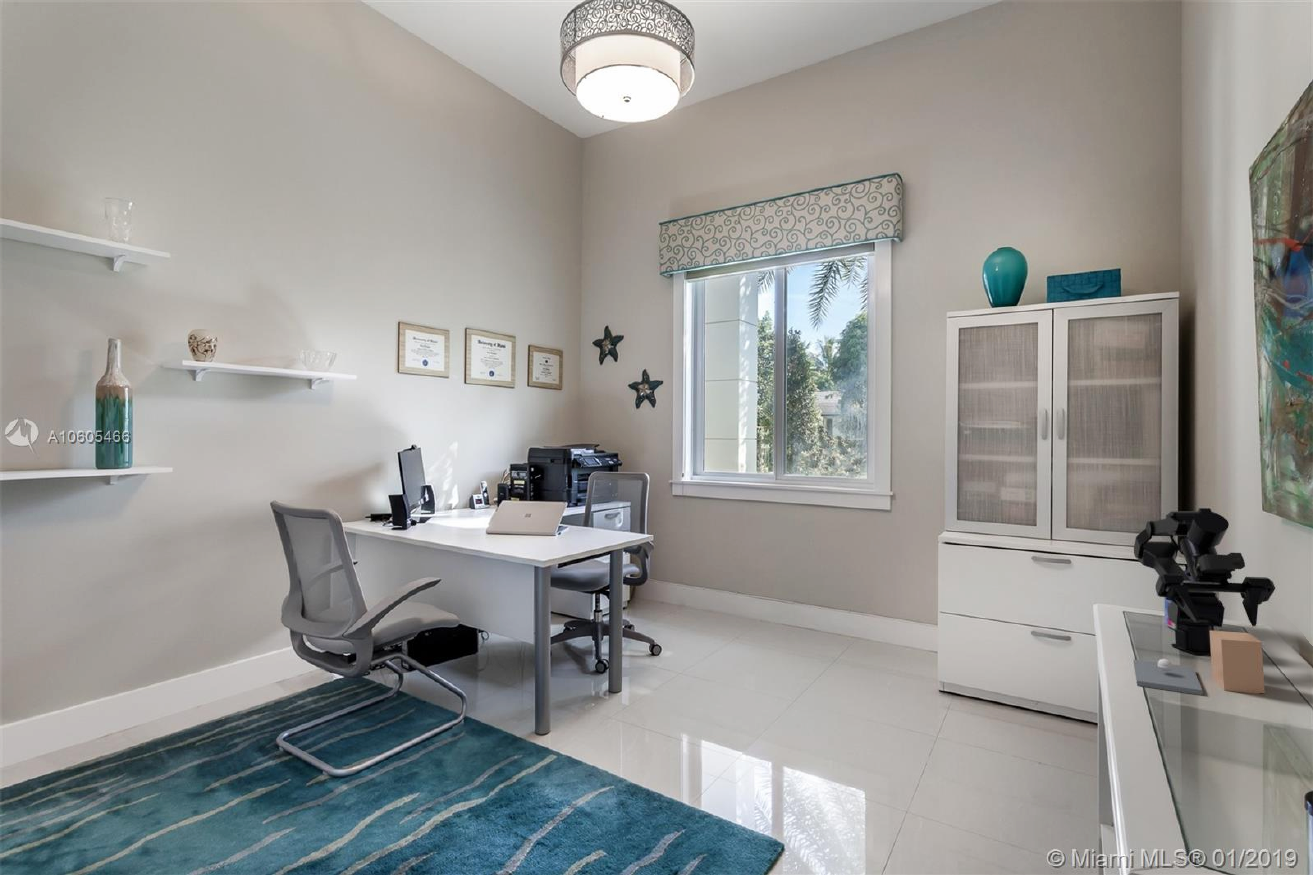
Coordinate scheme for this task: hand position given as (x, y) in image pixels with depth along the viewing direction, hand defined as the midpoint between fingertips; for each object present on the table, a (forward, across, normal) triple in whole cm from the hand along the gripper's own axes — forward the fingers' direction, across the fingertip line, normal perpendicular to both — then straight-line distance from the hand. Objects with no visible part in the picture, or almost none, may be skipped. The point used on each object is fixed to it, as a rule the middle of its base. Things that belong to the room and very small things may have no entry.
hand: (1225, 623), depth 127 cm
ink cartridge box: (-16, +4, +33) cm, 37 cm away
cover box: (+12, 0, +4) cm, 12 cm away
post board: (+11, -12, +4) cm, 17 cm away
